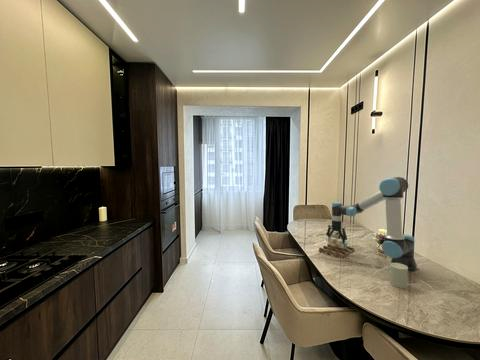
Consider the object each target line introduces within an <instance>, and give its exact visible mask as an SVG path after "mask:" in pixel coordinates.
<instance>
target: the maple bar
mask: <svg viewBox="0 0 480 360" xmlns="http://www.w3.org/2000/svg"><path fill="white" fill-rule="evenodd" d="M330 245H331V246H334V247H338V248H341V240H340V239H336V238H330Z"/></svg>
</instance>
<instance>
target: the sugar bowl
mask: <svg viewBox="0 0 480 360" xmlns="http://www.w3.org/2000/svg"><path fill="white" fill-rule="evenodd" d="M332 229H333V228H332V227H331V230H330V232H331V231H332ZM329 234H330V233H329ZM342 234H343V232H342ZM331 237H332V238H336V239H340V240H342V238H341V236H340V234H339V233H338V231H334V232H333V233H332V235H331Z"/></svg>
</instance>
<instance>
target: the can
mask: <svg viewBox="0 0 480 360" xmlns="http://www.w3.org/2000/svg"><path fill="white" fill-rule="evenodd" d="M408 276H409V271H408V267H407V266H406V265H403V264H400V263H391V262H390V263H389V282H388V283H389V284H390V285H392V286H393V287H396V288H399V287H400V288H399V289H405V288H406V289H407V288H408V287H409V286H408V284H409V283H408Z"/></svg>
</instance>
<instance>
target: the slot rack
mask: <svg viewBox="0 0 480 360" xmlns="http://www.w3.org/2000/svg"><path fill="white" fill-rule="evenodd" d="M318 251H320V252H319V253H322V252H323V253H322V254H325V253H326V254H325V255H328V254H329V255H328V256H331V255H332V257H334V256H335V258H337V259H342V258H345V257H346V255H347V256H348V255H350V254H351V253H352V254H353V252H355V251H356V250H355V247H352V246H349V245H347V249H346V248H338V247H334V246H331V245H330V244H329V243H327V245H323V246H322V247H320V246H319V247H318V250H317V252H318Z"/></svg>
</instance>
